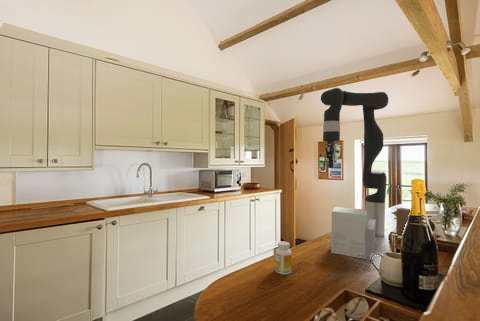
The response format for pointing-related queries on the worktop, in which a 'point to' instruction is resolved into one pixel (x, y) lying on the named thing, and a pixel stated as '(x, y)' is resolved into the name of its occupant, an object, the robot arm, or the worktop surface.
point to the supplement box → (349, 232)
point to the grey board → (370, 238)
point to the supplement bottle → (283, 258)
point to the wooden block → (401, 219)
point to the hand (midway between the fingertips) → (330, 167)
